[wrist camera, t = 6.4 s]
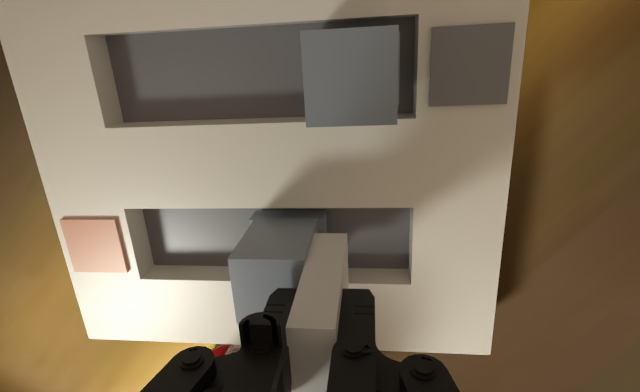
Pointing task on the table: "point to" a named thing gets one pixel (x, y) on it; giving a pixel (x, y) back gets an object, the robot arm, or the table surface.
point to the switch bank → (268, 156)
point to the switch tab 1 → (271, 256)
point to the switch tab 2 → (351, 76)
